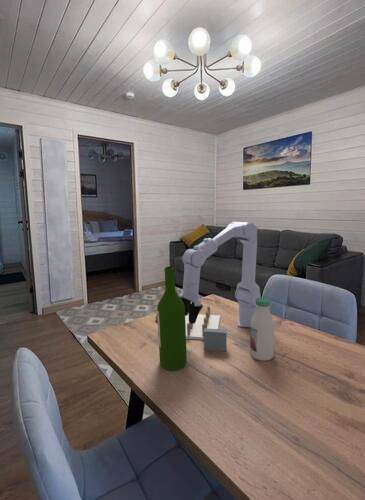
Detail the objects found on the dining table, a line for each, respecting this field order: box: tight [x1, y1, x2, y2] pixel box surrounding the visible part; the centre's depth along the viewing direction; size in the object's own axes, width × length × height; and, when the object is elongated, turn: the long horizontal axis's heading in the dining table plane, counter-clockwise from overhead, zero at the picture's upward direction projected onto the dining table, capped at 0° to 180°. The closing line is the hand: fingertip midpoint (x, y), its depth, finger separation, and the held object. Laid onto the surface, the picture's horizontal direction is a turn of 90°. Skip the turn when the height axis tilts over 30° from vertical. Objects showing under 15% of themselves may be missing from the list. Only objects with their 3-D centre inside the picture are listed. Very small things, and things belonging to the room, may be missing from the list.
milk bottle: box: [249, 297, 275, 362], centre depth 91 cm, size 8×8×20 cm
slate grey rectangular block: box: [203, 328, 228, 352], centre depth 97 cm, size 8×2×7 cm, turn 78°
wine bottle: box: [156, 266, 188, 372], centre depth 87 cm, size 9×9×32 cm
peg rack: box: [185, 306, 221, 341], centre depth 114 cm, size 16×21×6 cm
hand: (188, 319), depth 99 cm, fingers open, 7 cm apart
